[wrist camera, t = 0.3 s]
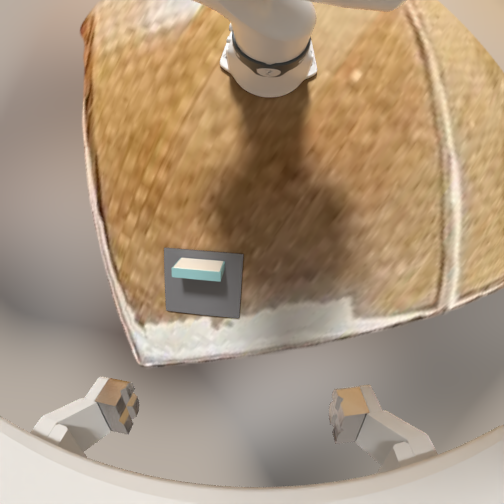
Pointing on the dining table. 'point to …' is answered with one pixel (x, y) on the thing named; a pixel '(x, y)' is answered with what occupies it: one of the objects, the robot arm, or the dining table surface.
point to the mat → (204, 285)
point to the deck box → (199, 269)
